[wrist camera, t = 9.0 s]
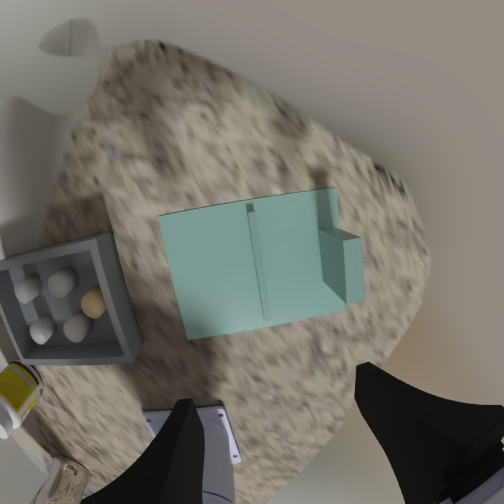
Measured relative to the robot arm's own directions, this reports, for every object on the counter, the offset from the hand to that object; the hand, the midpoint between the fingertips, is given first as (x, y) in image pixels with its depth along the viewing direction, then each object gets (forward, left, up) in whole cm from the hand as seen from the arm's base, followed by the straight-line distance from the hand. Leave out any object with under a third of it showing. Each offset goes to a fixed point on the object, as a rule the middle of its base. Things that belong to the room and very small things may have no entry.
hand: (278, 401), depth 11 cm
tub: (+3, +15, -10) cm, 19 cm away
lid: (+3, -1, -11) cm, 11 cm away
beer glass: (-22, +29, -11) cm, 38 cm away
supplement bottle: (-5, +25, -11) cm, 28 cm away
